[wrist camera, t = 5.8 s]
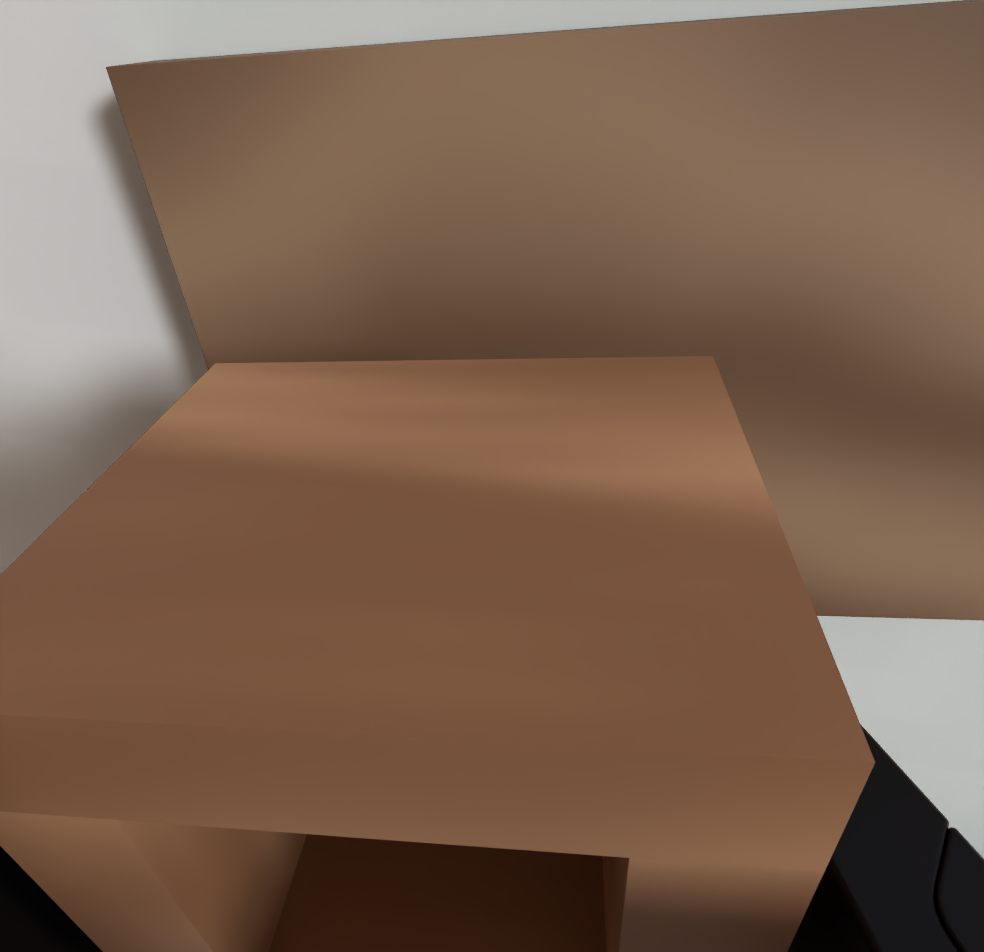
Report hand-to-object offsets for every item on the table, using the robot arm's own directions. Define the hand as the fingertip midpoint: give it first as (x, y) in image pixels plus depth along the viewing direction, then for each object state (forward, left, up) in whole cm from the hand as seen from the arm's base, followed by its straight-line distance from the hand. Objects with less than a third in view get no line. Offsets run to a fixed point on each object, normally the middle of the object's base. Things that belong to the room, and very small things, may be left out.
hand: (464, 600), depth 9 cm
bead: (0, 0, -1) cm, 1 cm away
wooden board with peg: (0, -3, -7) cm, 8 cm away
